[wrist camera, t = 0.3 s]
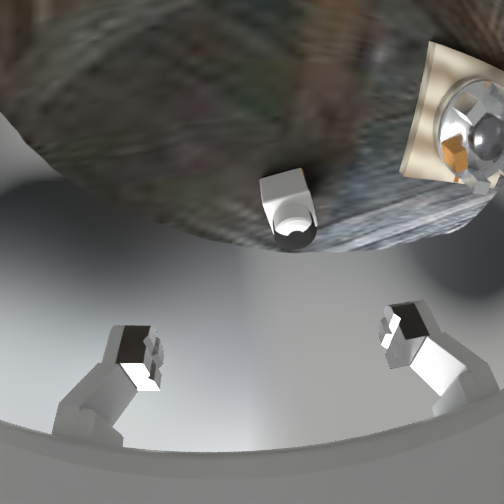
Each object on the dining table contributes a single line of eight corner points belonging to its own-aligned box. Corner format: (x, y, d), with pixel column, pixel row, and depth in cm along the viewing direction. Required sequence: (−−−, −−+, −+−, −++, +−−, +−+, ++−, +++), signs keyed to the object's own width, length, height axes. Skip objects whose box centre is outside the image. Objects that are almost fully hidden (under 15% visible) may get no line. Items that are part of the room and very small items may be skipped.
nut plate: (429, 40, 33) (436, 43, 32) (523, 81, 34) (530, 85, 33) (399, 170, 50) (404, 177, 48) (489, 182, 51) (494, 188, 50)
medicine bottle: (310, 200, 54) (324, 248, 46) (270, 211, 56) (277, 260, 47) (301, 166, 50) (316, 211, 41) (258, 178, 51) (264, 225, 42)
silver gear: (447, 62, 34) (474, 75, 29) (520, 93, 34) (545, 109, 29) (420, 166, 47) (439, 189, 42) (491, 177, 48) (510, 198, 43)
